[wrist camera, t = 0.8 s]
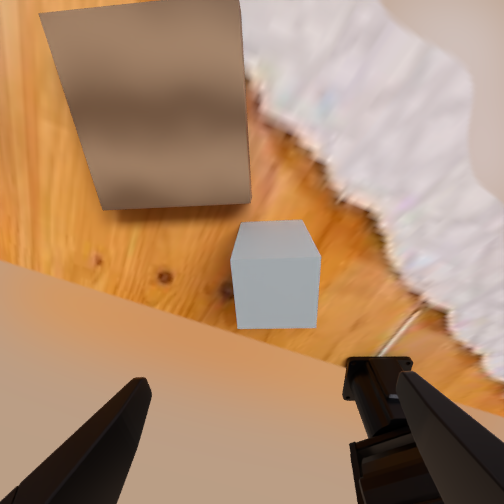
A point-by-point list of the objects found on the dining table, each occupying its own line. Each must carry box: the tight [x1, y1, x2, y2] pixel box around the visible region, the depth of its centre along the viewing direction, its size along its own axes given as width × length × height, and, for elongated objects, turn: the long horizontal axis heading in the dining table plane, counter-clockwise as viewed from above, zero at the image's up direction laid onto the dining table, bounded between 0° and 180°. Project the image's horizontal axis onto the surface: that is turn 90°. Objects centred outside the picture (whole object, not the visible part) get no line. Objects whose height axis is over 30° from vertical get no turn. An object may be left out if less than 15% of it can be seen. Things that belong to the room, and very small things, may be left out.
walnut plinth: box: [39, 0, 252, 210], centre depth 16 cm, size 11×11×2 cm
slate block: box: [230, 220, 321, 329], centre depth 17 cm, size 5×5×7 cm
